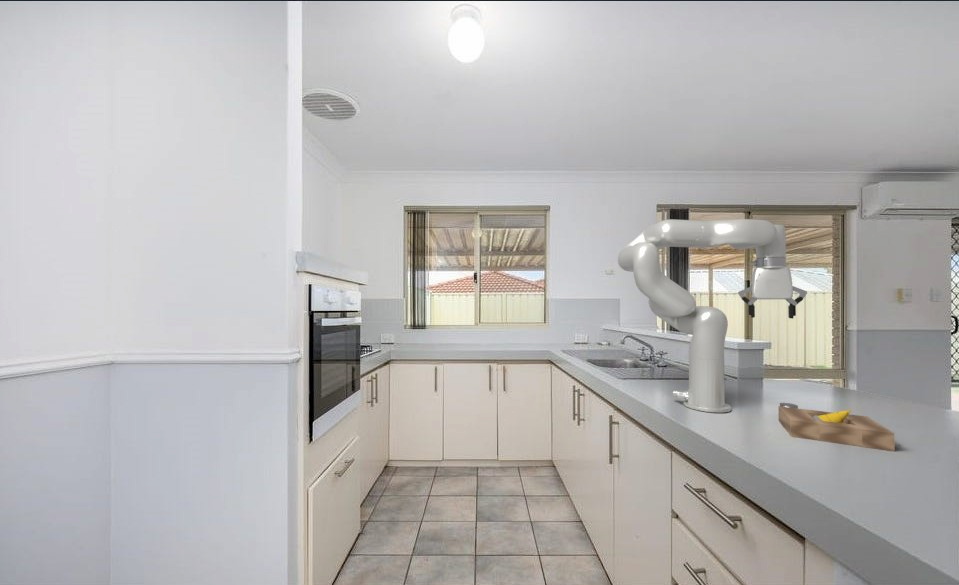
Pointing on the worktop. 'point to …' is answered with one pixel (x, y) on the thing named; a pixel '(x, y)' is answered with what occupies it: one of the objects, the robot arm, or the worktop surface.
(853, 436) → the wooden tray
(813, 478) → the worktop surface
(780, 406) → the short pin
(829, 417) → the yellow cone
